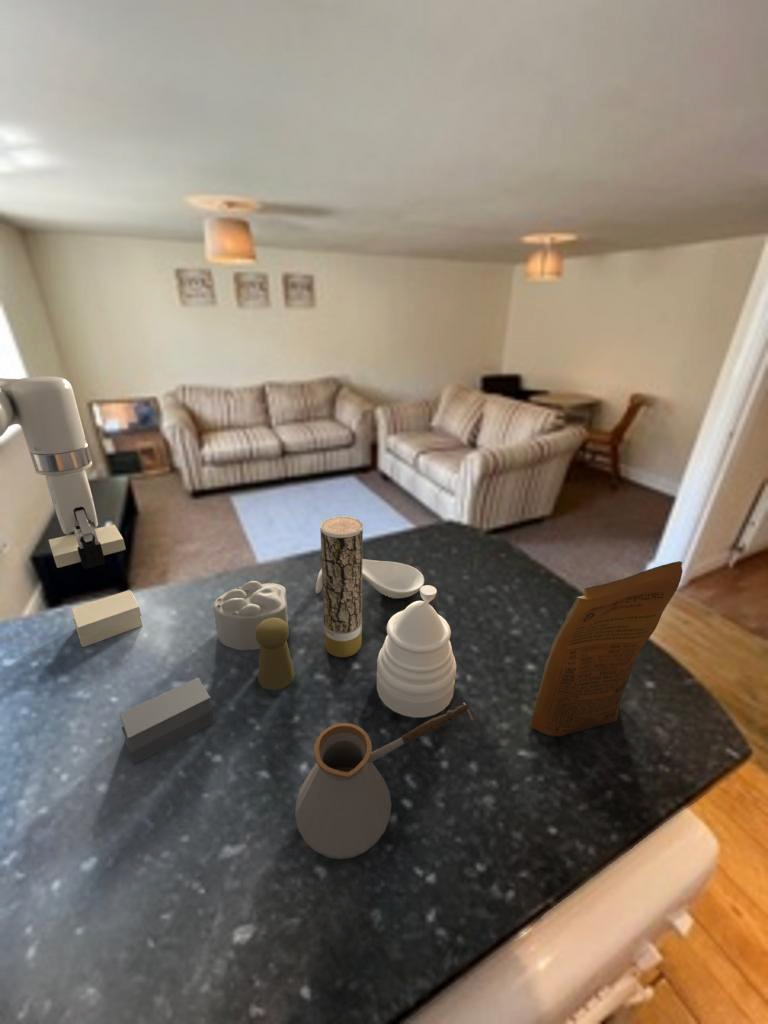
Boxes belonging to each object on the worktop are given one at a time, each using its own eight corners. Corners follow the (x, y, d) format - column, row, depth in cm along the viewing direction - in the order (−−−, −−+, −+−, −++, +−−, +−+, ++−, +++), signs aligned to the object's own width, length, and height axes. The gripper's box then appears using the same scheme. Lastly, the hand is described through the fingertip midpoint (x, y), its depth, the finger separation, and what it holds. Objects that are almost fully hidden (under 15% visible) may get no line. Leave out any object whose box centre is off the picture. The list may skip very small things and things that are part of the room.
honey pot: (403, 647, 83) (408, 564, 75) (466, 679, 76) (479, 591, 68) (360, 691, 73) (361, 600, 65) (428, 732, 66) (438, 636, 59)
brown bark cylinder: (339, 665, 78) (336, 539, 68) (317, 644, 83) (312, 523, 72) (369, 648, 82) (371, 526, 72) (346, 629, 87) (345, 512, 76)
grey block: (134, 764, 60) (126, 739, 58) (125, 739, 64) (117, 714, 62) (214, 721, 67) (210, 697, 65) (202, 700, 70) (198, 677, 68)
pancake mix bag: (646, 725, 68) (707, 570, 57) (538, 755, 63) (580, 591, 52) (614, 692, 74) (663, 545, 62) (513, 716, 69) (545, 561, 57)
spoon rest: (420, 576, 104) (422, 549, 101) (426, 607, 94) (428, 578, 91) (319, 575, 104) (318, 548, 101) (313, 606, 93) (311, 577, 90)
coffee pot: (302, 886, 48) (294, 798, 42) (291, 786, 58) (284, 702, 52) (480, 831, 54) (497, 746, 48) (443, 748, 64) (452, 669, 58)
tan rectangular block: (82, 647, 80) (75, 628, 78) (75, 627, 85) (69, 608, 83) (143, 625, 86) (139, 606, 84) (134, 607, 91) (130, 589, 89)
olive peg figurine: (282, 657, 79) (277, 607, 75) (301, 676, 75) (298, 624, 71) (251, 675, 75) (244, 623, 71) (270, 696, 72) (264, 642, 67)
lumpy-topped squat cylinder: (289, 645, 82) (286, 606, 79) (214, 654, 80) (208, 615, 76) (287, 610, 91) (285, 574, 88) (221, 617, 89) (215, 581, 85)
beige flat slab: (57, 568, 72) (53, 556, 71) (51, 550, 77) (48, 539, 76) (125, 549, 78) (123, 538, 77) (117, 534, 83) (114, 524, 82)
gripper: (28, 449, 74) (58, 543, 82) (38, 479, 62) (72, 586, 70) (80, 442, 79) (104, 531, 86) (100, 469, 67) (126, 570, 74)
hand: (90, 555), depth 78 cm, fingers closed on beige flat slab, 7 cm apart
